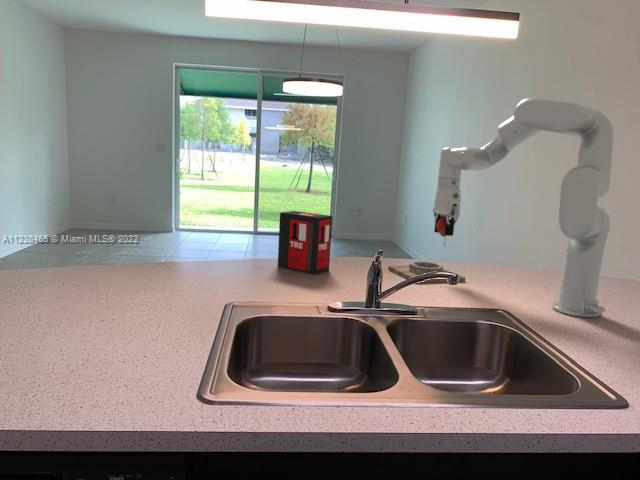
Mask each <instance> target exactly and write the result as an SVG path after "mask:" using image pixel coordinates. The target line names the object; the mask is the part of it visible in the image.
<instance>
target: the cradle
mask: <svg viewBox="0 0 640 480" xmlns="http://www.w3.org/2000/svg"><path fill="white" fill-rule="evenodd" d="M387 270H388V271H390V272H391V273H394V274H396V275H398V276H400V277H401V278H404V279H406V280H407V278H410V277H413V276H417V275H421V274H424V273H428V272H433V271H450V270H448V269H445V268H444V265H442V264H440V263H437V262H430V261H422V260H421V261H420V260H419V261H418V260H417V261H411V262H410V263H409V265H408V264H407V265H388V268H387ZM450 272H452V271H450ZM458 275H459V282H458V283H462V282H463V283H465V282H466V277H465V276H463V275H460V274H458ZM436 283H437V284H440V283H448V282H447V279H430V280H426V281H424V282H420V283H419V284H436ZM416 284H418V283H416Z"/></svg>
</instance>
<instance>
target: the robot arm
mask: <svg viewBox="0 0 640 480" xmlns="http://www.w3.org/2000/svg"><path fill="white" fill-rule="evenodd" d="M541 131H546V132H551V133H556V134H557V133H558V134H562V135H568V136H575V137H579V138H580V144H579V147H578V152H577V165H576V166H574V167H572V168H571V169H569V170H568V171H567V172H566V173H565V175H564V176H563V178H562V182H561V185H560V195H559V208H558V227H559V229H560V231H561V233H562V234H563V235H564V236H565V237H566V238H568V242H567V245H566V251H565V257H564V264H563V271H562V278H561V285H560V292H559V298H558V301H555V302H552V309H554V310H555V311H557V312H559V313H562V314H565V315H569V316H573V317H578V318H579V317H581V318H597V317H599V316H601V315H603V313H605V311H606V308H605V307H603V306H600V305H599V303H600V300H599V299H597V295H598V289H599V282H600V277H601V270H602V263H603V259H604V258H603V257H604V252H605V246H606V244H607V239H608V236H609V232H610V228H611V218H610V215H609V213H608V211H606V209H605V208H604V207H602V206H600V205H598V199H601V198H603V197H604V196H605V195H607V194H608V192H609V190H610V186H611V175H612V162H613V147H614V138H615V137H614V127H613V123H612V122H611V120H610V119H609V118H608V116H606V115H605V114H604V113H602V112H601V111H599V110H597V109H594V108H592V107H588V106H585V105H582V104H578V103H576V102H575V103H574V102H569V101H561V100H552V99H551V100H550V99H546V98H538V97H527V98H524V99H522V100H521V101H520V102H518V103H517V104H516V106H515V108H514V110H513V115H512V116H511V117H509V118H508V119H507V120H505V121H503V122H502V123H500V125H498V127H497V136H496V137H495V138H494V139H493V140H491V141H490V142H489V143H486V144H485V145H484V146H483V147H480V148H479V147H478V148H477V147H460V148H458V147H444V148H442V149H441V150H440V158H439V169H438V177H437V178H438V179H437V188H436V192H435V197H434V198H435V199H434V205H433V209H432V212H433V213H432V214H433V216H434V217H433V218H434V233H438V231H437V229H436V224H437V222H438V221H439V219H441V218H442V217H444V216H446V220H447V224H446V225H445V235H446V236H445V237H447V236H449V237H453V236H454V231H455V225H456V222H458V219H459V218H460V213H461V199H462V198H461V197H462V196H461V194H462V193H461V188H460V187H461V186H460V184H461V175H462V170H463V171H478V172H479V171H480V172H481V171H484V170H487V169H489V168H491V167H492V166H495V165H496V164H497V163H499V162H501V161H502V160H504V159H505V158H506V157H507V156H508V155H509V154H510V153H511V152H512V151H513V150H514V148H515V147H517V146H519V145H520V144H522V143H523V142H525V141H526V140H528V139H531V137H533V136H535V135H536V134H538V133H539V132H541Z"/></svg>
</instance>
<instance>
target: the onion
mask: <svg viewBox="0 0 640 480" xmlns="http://www.w3.org/2000/svg"><path fill="white" fill-rule="evenodd" d="M446 224H447V220H446V216H444V217H442V218H441V219H439V221H438V222H437V224H436V229H437V231H438V232H437V233H438V234H440V236H441V237H447V236H446V235H445V225H446Z"/></svg>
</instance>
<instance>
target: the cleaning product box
mask: <svg viewBox="0 0 640 480" xmlns="http://www.w3.org/2000/svg"><path fill="white" fill-rule="evenodd" d="M332 224H333V215H329V214H320V213H313V212H305V211H296V210H291V211H283V212H279V228H278V229H279V230H278V253H277V268H281V269H285V270H291V271H296V272H300V273H305V274H308V275H314V276H316V275H319V274H323V273H326V272H329V271H330V262H331V261H330V260H331V259H330V257H331V243H332V227H333V225H332Z"/></svg>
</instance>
